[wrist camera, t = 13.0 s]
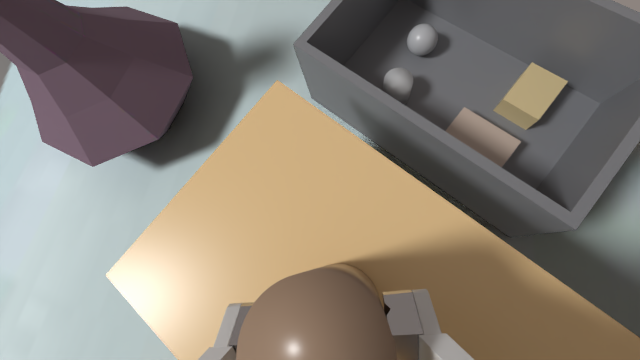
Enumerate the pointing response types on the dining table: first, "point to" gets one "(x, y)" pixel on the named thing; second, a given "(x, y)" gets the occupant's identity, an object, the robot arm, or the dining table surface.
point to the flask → (96, 74)
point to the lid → (339, 256)
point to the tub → (488, 97)
